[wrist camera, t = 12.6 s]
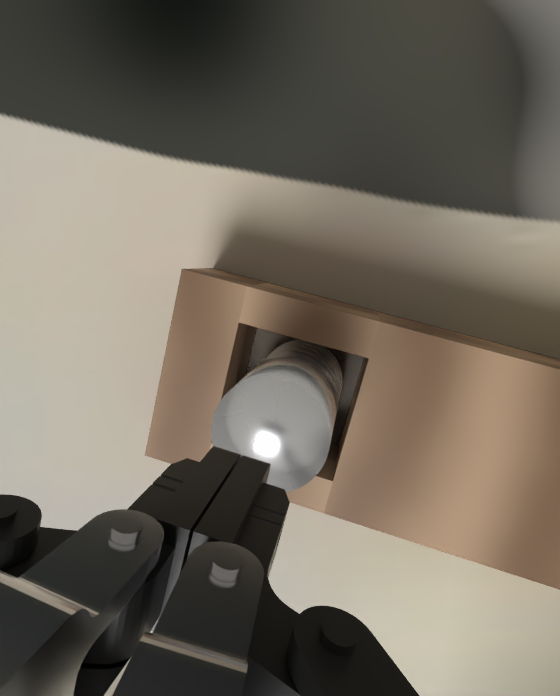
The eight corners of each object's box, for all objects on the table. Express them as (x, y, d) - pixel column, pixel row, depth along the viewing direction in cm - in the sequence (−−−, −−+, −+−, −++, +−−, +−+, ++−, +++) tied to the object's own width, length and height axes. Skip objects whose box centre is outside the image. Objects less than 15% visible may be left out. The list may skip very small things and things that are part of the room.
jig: (770, 414, 20) (865, 450, 16) (686, 583, 22) (755, 652, 18) (212, 268, 23) (181, 268, 19) (179, 425, 25) (144, 455, 21)
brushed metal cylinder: (356, 401, 23) (349, 470, 15) (282, 430, 24) (242, 508, 16) (322, 326, 23) (298, 358, 15) (248, 358, 24) (191, 404, 16)
